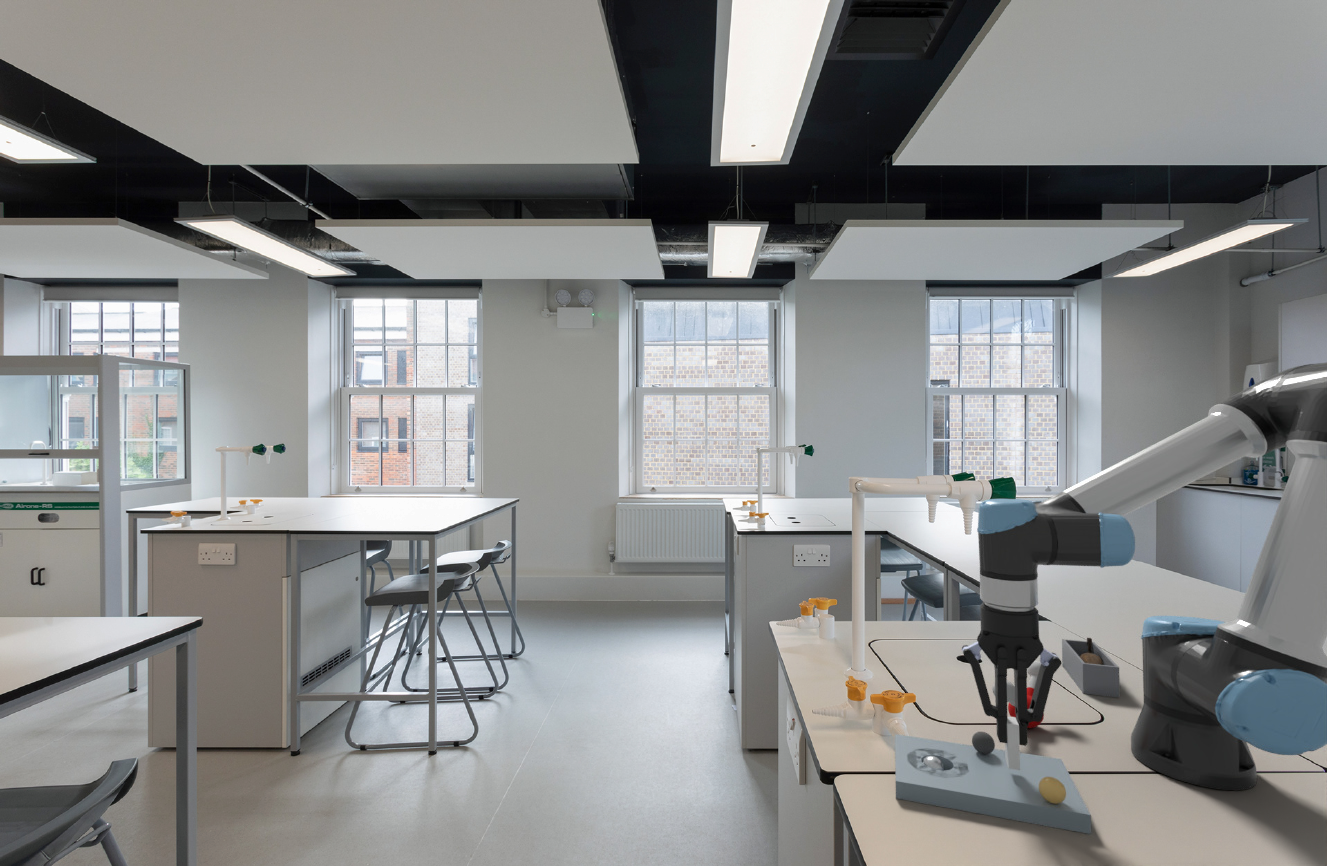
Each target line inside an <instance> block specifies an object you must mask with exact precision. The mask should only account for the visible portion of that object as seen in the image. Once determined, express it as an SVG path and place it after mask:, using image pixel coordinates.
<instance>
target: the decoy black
mask: <svg viewBox="0 0 1327 866" xmlns="http://www.w3.org/2000/svg"><path fill="white" fill-rule="evenodd" d="M971 744H972V746H974V748H975V749H976V750H977V751H978V752H979V753H982V754H990V753H991V752H992V751H993V750H994V749H996V748H995V747H996V743H995V740H994V739H993V737H992V736H991V735H990V733H988V732H985V731H977V732H975V733H974V734H973V735H972V737H971Z"/></svg>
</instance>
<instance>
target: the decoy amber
mask: <svg viewBox="0 0 1327 866" xmlns="http://www.w3.org/2000/svg"><path fill="white" fill-rule="evenodd" d="M1039 791H1040V794H1041V795H1042V797H1043V798H1044V799H1045V800H1047V801H1048V802H1050V803H1054V804H1059V803H1061V802H1063V801H1064V800H1065V798H1066V789H1065V787H1064V785H1063V784H1062V783H1061V782H1060V781H1059V780H1058V779H1056V778H1054V777H1044V778H1042V779H1041V780H1040V782H1039Z"/></svg>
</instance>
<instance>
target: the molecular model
mask: <svg viewBox="0 0 1327 866" xmlns="http://www.w3.org/2000/svg"><path fill="white" fill-rule="evenodd" d="M1040 666H1041V662H1040V660H1035V661H1034V662H1033V663H1032V664H1031V666H1030V667H1029V668H1027V674H1028V675H1029V677H1030V679H1029V680H1028V684H1027V709H1029V708H1030V704H1031V700H1032V696H1033V692H1034V688H1035V684H1036V680H1037V676H1038V673H1039V669H1040ZM991 689H992V691H991V692H992V693H993V696H995V682H993V685H992V688H991ZM1007 712H1008V714H1009V717H1016V714H1015V685H1014V683H1012V682H1011V681H1009V680H1007ZM1044 715H1045V712H1044V713H1043V717H1042V720H1041V721H1040V722H1036V721H1033V722H1030V723H1029V725H1028V726H1027V729H1033V728H1036V727H1039V726H1040V725H1041V724H1042V722H1043V720H1044V718H1045V716H1044Z"/></svg>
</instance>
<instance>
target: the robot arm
mask: <svg viewBox="0 0 1327 866" xmlns="http://www.w3.org/2000/svg"><path fill="white" fill-rule="evenodd" d="M1286 447H1287V448H1288V450H1289V451H1290V452H1291V453H1292V455H1294V456H1295V457H1294V458H1295V461H1294V464H1293V466H1292V469H1291V471H1290V473H1289V477H1288V479H1287V482H1286V485H1285V487H1284V490H1283V493H1282V495H1281V498H1280V501H1279V503H1278V505H1277V509H1276V511H1275V514H1274V517H1273V519H1272V522H1271V525H1270V527H1269V529H1268V533H1267V535H1266V538H1265V541H1264V544H1263V546H1262V549H1261V551H1260V554H1259V557H1258V560H1257V562H1256V564H1255V567H1254V571H1253V573H1252V575H1251V578H1250V581H1249V584H1248V586H1247V589H1246V592H1245V593H1244V596H1243V599H1242V602H1241V605H1240V607H1239V610H1238V613H1237V616H1236V618H1234V619H1232V620H1230V621H1222V620H1216V619H1209V618H1201V617H1194V616H1184V615H1183V616H1180V615H1152V616H1149V617H1146V619H1144V621H1143V624H1142V633H1141V637H1140V639H1141V640H1142V641H1141V642H1142V644H1141V645H1142V681H1143V684H1142V687H1143V705H1142V708H1141V711H1140V713H1139V715H1138V718H1137V720H1136V723H1135V725H1134V727H1133V730H1132V732H1131V734H1130V750H1131V753H1132V755H1133V756H1134V758H1136V759H1137V760H1138V761H1139V762H1141V763H1142V764H1144V765H1145V766H1147V767H1149V768H1151V770H1154V771H1156V772H1158V773H1161V774H1163V775H1165V776H1167V777H1170V778H1173V779H1176V780H1179V781H1181V782H1184V783H1188V784H1192V785H1196V786H1199V787H1205V788H1209V789H1216V790H1224V791H1243V790H1248V789H1251V788H1253V787H1254V786H1256V784H1257V766H1256V763H1255V760H1254V757H1253V755H1252V753H1251V750H1250V747H1249V745H1250V746H1252V747H1255V748H1257V749H1258V750H1261V751H1264V752H1267V753H1270V754H1275V755H1281V756H1299V755H1302V754H1304V753H1307V752H1315V751H1317V750H1319V749H1321V748H1323V747H1324V746H1326V745H1327V654H1326V653H1325V652H1324V648H1323V647H1324V645H1325V642H1326V640H1327V362H1319V363H1309V364H1304V365H1297V366H1294V367H1291V368H1287V369H1285V370H1282V371H1280V372H1277V373H1274V374H1273V375H1270V376H1268V377H1267V378H1264V379H1262V380H1261V381H1259V382H1256V383H1255V384H1253V385H1251V386H1248V387H1246V388H1245V389H1243V390H1241V391H1240V392H1237V393H1236V394H1233V395H1232V396H1230V397H1228V398H1226V399H1224V400H1222V401H1221V402H1219V403H1217V404H1215V405H1213V406H1211V407H1210V408H1209V410H1208V413H1207V416H1206V417H1204V418H1202V419H1201V420H1199V421H1197V422H1194V423H1193V424H1191V425H1189V426H1186V427H1185V428H1183V429H1181V430H1179V431H1177V432H1176V433H1173V434H1171V435H1170V436H1167V437H1166V438H1163V439H1162V440H1160V441H1158V442H1156V443H1154V444H1152V445H1149V446H1148V447H1146V448H1144V449H1143V450H1142V449H1141V450H1140V451H1138V452H1136V453H1135V454H1133V455H1131V456H1129V457H1126V458H1125V459H1123V460H1121V461H1119V462H1117V463H1115V464H1114V465H1113V464H1112V465H1111V466H1109V467H1108V468H1106V469H1103V470H1102V471H1100V472H1098V473H1096V474H1094V475H1092V476H1090V477H1088V478H1086V479H1084V480H1082V481H1080V482H1078V483H1077V484H1074V485H1073V486H1071V487H1069V488H1067V489H1065V490H1063V491H1061V492H1059V493H1056V494H1054V495H1053V496H1050V497H1049V498H1046V499H1045V500H1043V501H1041V500H1039V501H1038V500H1035V501H1032V500H1030V499H1029V500H1028V499H1021V498H991V499H990V498H989V499H986V500H983V501H982V502H981V503H980V504H979V507H978V517H977V530H976V531H977V535H978V536H977V537H978V553H979V555H978V556H979V588H980V589H979V599H981V601H982V602H981V604H980V605H979V609H980V610H979V611H980V632H979V634H978V636H977V638H976V642H973V643H971V644H969V645H967V644H965V645H962V647H961V651H962V654H963V656H964V658H965V660H967V662H968V664H969V665H970V667H971V671H972V673H973V676H974V678H973V679H974V682H975V685H976V689H977V692H978V695H979V698H980V703H981V706H982V709H983V711H984V715H986V716H988V717H992V718H994V719H996V723H995V724H996V736H997V739H998V742H999V743H1003V744H1005V745H1004V750H1005V760H1006V763H1007V765H1008V768H1009V769H1014V770H1020V753H1021V752H1020V751H1021V750H1020V749H1021V748H1020V746H1025V747H1026V746H1027V745H1028V741H1029V740H1028V736H1029V735H1028V728H1027V726H1028V725H1029V723H1030V722H1033V721H1036V722H1040V721H1041V720H1042V717H1043V713H1044V714H1045V709H1046V706H1047V702H1048V696H1049V694H1050V693H1049V692H1050V689H1051V687H1052V682H1053V678H1054V674H1055V673H1056V672H1057V671H1058V670H1059V668H1060V667H1061V666H1062V660H1061V659H1060V657H1059V656H1058V655H1057V653H1055V652H1050V651H1048V650H1047V649H1046V648H1044V644H1043V643H1042V640H1041V638H1040V623H1039V621H1040V620H1039V617H1040V616H1039V610H1038V609H1037V607H1036V606H1038V605H1039V593H1038V591H1039V587H1038V585H1039V584H1038V577H1039V576H1038V566H1039V565H1040V566H1067V567H1068V566H1070V567H1071V566H1074V567H1075V566H1078V567H1100V568H1101V569H1102V568H1105V567H1123V566H1125V565H1126V566H1127V564H1129V563H1130V562H1131V561H1132V559H1133V557H1134V555H1135V551H1136V537H1135V533H1134V530H1133V527H1132V525H1131V523H1130V522H1129V521H1128V519H1127V518H1126V517H1125V516H1126V515H1128V514H1129V515H1130V514H1131V513H1133V512H1134V511H1136V510H1139V509H1141V508H1143V507H1145V506H1147V505H1149V504H1151V503H1154V502H1156V501H1157V500H1159V499H1161V498H1163V497H1165V496H1167V495H1169V494H1171V493H1174V492H1175V491H1177V490H1180V489H1181V488H1184V487H1185V486H1187V485H1190V484H1191V483H1193V482H1196V481H1198V480H1200V479H1202V478H1204V477H1206V476H1208V475H1210V474H1212V473H1214V472H1215V471H1216V472H1217V471H1218V470H1220V469H1221V468H1224V467H1226V466H1228V465H1230V464H1232V463H1234V462H1236V461H1238V460H1240V459H1242V458H1244V457H1246V458H1250V459H1251V458H1252V459H1253V458H1254V459H1255V458H1261V457H1263V456H1264V455H1267V454H1268V453H1270V452H1271V453H1272V452H1273V451H1275V450H1279V449H1281V448H1286ZM981 651H983V653H984V654H985V655H986V657H987V658H988V660H989V661H990V663H992V664H993V666H994V683H995V695H994V698H995V699H994V700H995V701H994V702H995V705H994V704H992V702H991V698H990V695H989V691H988V688H987V684H986V680H985V678H984V677H985V676H984V674H983V671H982V667H981V664H980V661H979V660H981V658H982V654H981ZM1037 659H1039V661H1040V662H1041V666H1040V669H1039V673H1038V676H1037V680H1036V684H1035V688H1034V692H1033V696H1032V700H1031V704H1030V708H1029V709H1027V686H1028V684H1027V682H1028V679H1027V678H1028V668H1029V667H1030V666H1031V664H1032V663H1033V662H1034V661H1037ZM1009 669H1013V677H1014V678H1013V681H1014V682H1013V685H1014V687H1015V714H1016V717H1011V716H1010V715H1009V716H1008V702H1007V681H1008V679H1007V678H1008V677H1007V676H1008V670H1009ZM1248 744H1249V745H1248Z"/></svg>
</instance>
